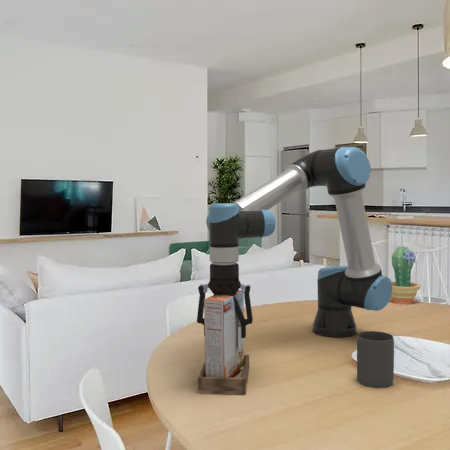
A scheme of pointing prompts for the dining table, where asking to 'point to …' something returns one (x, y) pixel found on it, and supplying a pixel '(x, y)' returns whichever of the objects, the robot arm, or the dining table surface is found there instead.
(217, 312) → the cracker box
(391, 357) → the mug
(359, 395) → the dining table surface
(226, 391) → the tray
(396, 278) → the potted cactus
